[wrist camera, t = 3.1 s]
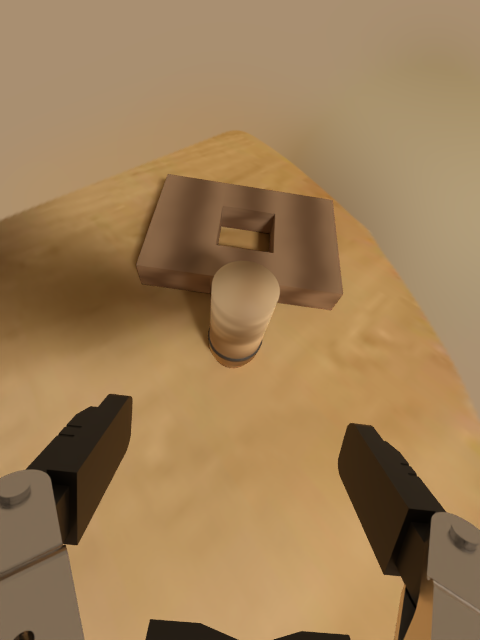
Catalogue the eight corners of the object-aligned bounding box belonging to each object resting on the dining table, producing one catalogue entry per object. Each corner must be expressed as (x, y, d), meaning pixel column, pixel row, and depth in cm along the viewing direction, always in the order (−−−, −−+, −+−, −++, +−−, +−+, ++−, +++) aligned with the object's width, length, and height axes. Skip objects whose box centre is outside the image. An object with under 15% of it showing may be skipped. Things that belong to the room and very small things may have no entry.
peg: (204, 370, 26) (205, 312, 17) (211, 325, 28) (215, 255, 19) (255, 376, 26) (280, 322, 17) (257, 331, 28) (281, 264, 20)
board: (141, 284, 29) (135, 265, 27) (170, 196, 36) (167, 174, 34) (331, 310, 31) (343, 294, 28) (323, 219, 38) (332, 200, 35)
